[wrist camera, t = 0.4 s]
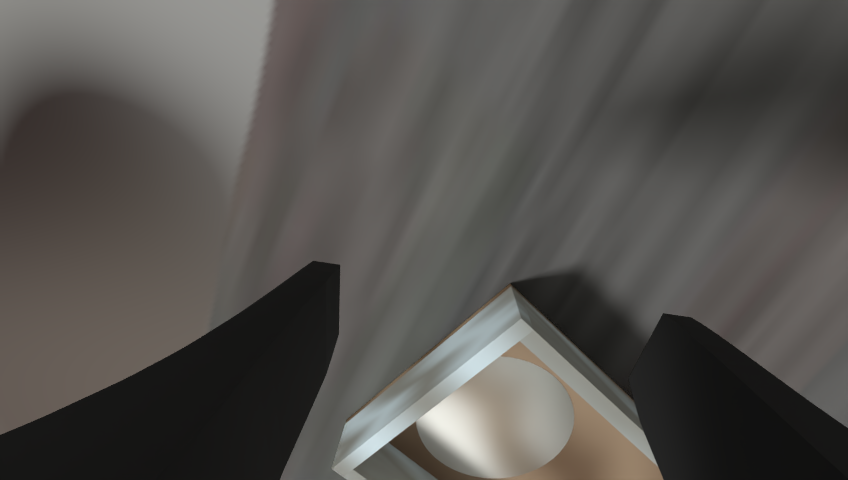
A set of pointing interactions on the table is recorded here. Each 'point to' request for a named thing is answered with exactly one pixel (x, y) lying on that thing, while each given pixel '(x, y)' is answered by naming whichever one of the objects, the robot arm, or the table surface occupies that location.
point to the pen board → (499, 410)
